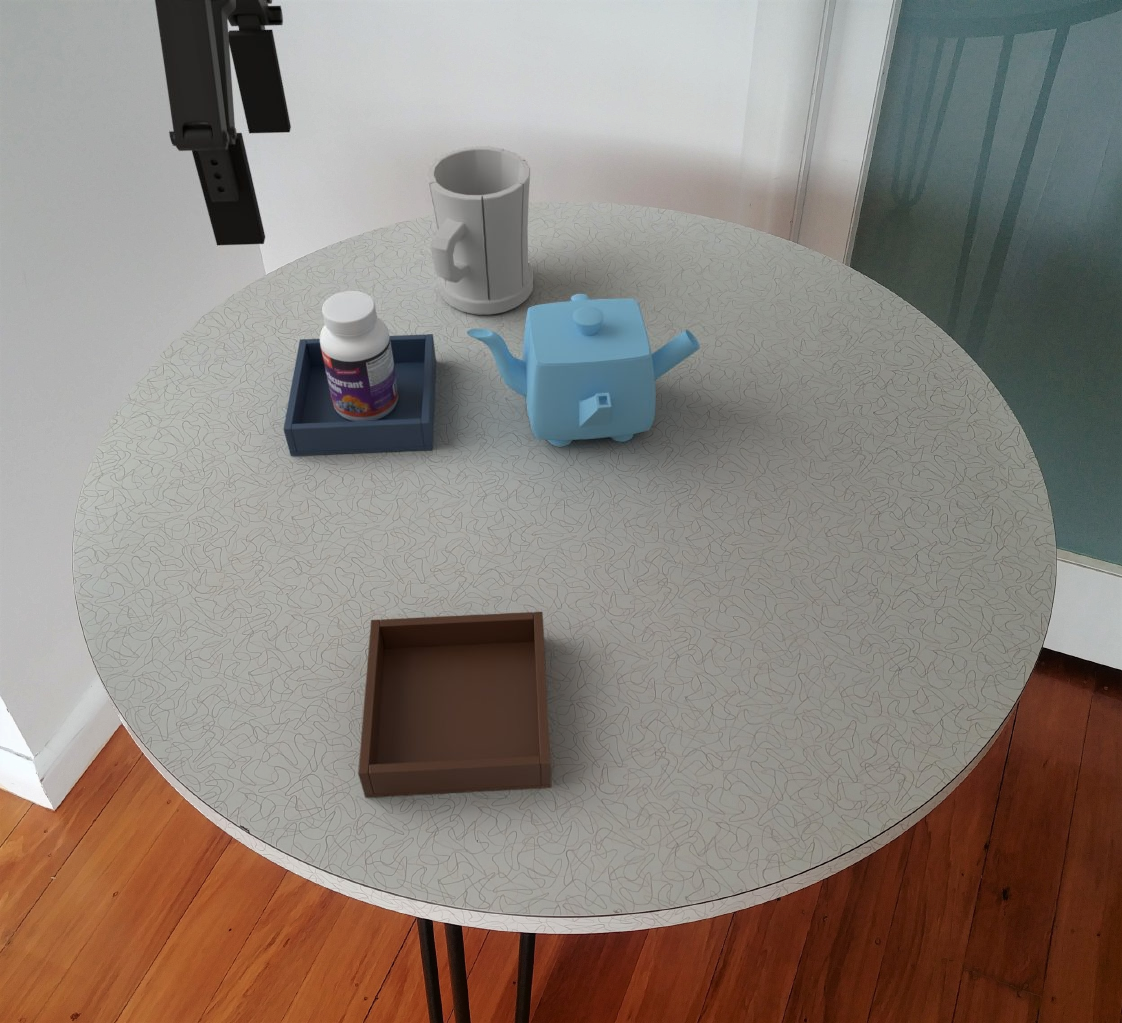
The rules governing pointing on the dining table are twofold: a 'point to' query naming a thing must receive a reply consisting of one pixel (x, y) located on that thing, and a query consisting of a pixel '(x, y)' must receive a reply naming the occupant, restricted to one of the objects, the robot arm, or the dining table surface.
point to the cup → (481, 228)
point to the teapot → (587, 368)
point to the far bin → (327, 432)
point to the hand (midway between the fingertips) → (256, 182)
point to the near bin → (455, 706)
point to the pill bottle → (358, 357)
